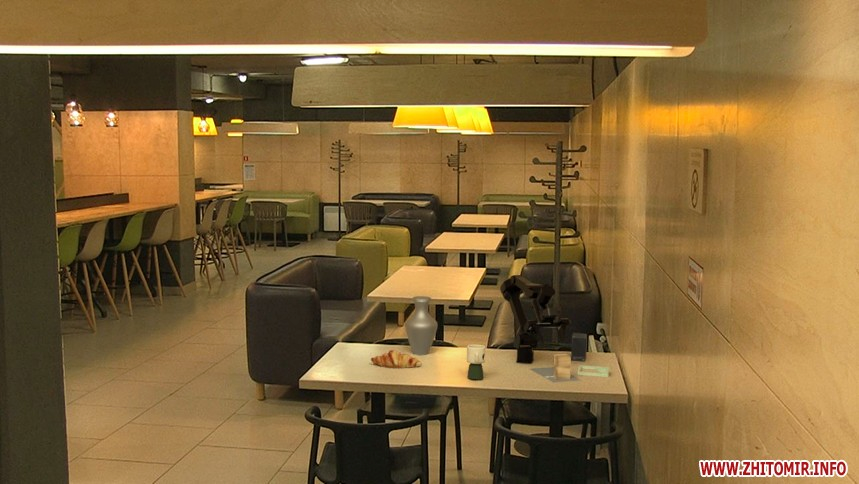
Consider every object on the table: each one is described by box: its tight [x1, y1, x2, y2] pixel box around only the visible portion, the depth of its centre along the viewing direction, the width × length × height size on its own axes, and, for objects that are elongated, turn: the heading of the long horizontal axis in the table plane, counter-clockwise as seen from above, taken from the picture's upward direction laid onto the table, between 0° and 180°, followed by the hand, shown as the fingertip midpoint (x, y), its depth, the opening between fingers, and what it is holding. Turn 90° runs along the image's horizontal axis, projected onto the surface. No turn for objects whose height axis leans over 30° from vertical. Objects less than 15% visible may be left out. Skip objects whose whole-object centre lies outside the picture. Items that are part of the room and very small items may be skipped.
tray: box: [577, 364, 610, 378], centre depth 338 cm, size 12×12×2 cm
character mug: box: [466, 344, 486, 381], centre depth 329 cm, size 11×7×13 cm, turn 1°
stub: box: [553, 353, 572, 380], centre depth 327 cm, size 4×5×9 cm
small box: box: [570, 332, 588, 362], centre depth 368 cm, size 11×6×10 cm, turn 168°
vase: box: [404, 295, 438, 356], centre depth 370 cm, size 14×14×25 cm
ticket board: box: [529, 366, 582, 383], centre depth 333 cm, size 22×12×2 cm, turn 19°
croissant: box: [370, 349, 423, 369], centre depth 347 cm, size 21×10×8 cm, turn 86°
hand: (553, 343), depth 334 cm, fingers open, 9 cm apart
